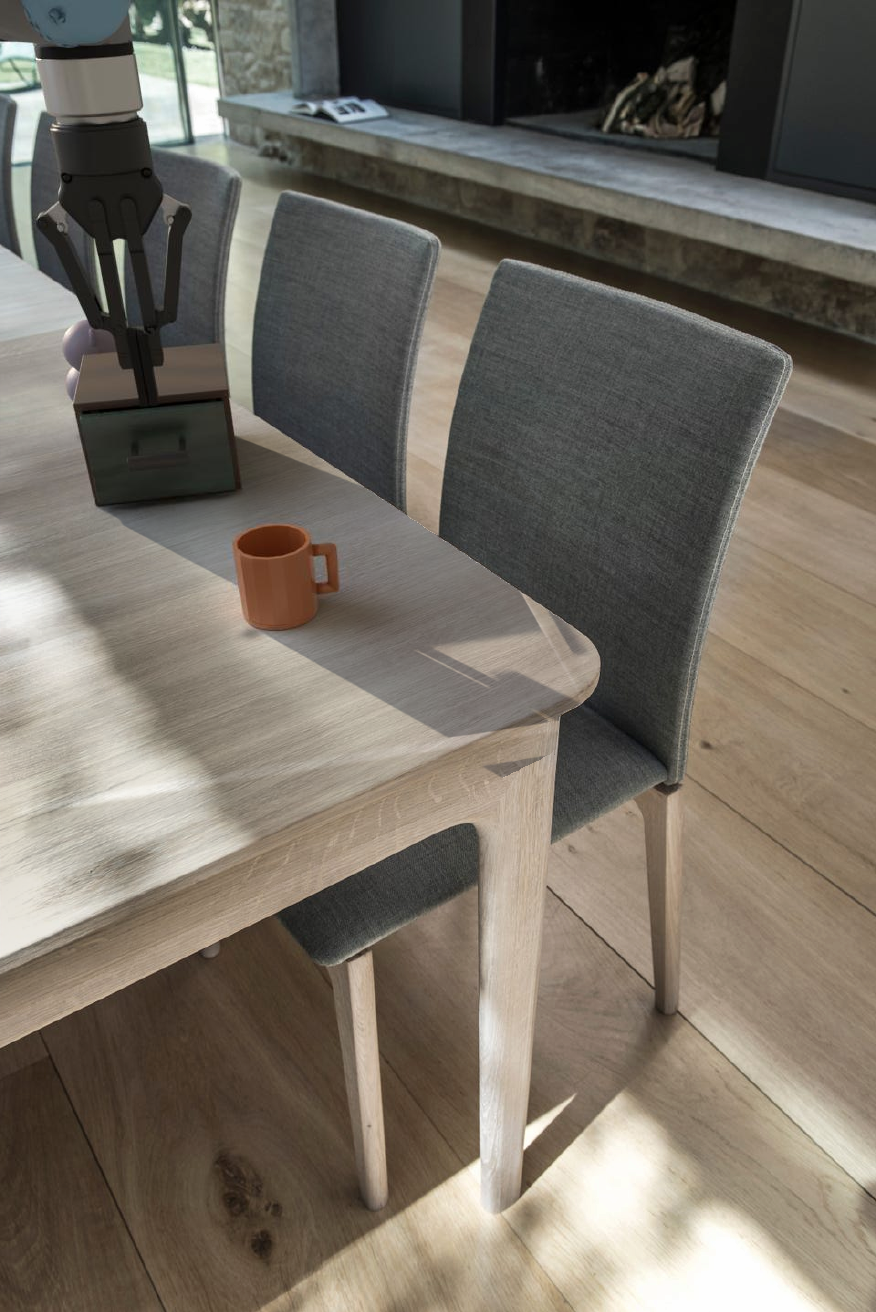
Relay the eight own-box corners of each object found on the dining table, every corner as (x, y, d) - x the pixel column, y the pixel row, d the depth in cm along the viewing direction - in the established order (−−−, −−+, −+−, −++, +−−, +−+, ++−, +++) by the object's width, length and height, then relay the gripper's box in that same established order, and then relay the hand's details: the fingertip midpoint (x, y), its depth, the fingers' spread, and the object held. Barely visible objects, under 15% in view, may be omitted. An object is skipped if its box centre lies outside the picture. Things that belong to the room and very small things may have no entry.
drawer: (238, 508, 102) (226, 422, 97) (96, 525, 100) (76, 437, 95) (228, 436, 117) (217, 359, 113) (105, 449, 115) (89, 370, 110)
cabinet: (242, 490, 108) (228, 389, 102) (95, 506, 105) (72, 404, 99) (233, 434, 120) (221, 342, 114) (103, 448, 118) (83, 354, 112)
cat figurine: (79, 412, 128) (56, 312, 121) (145, 407, 129) (126, 307, 122) (70, 438, 121) (46, 333, 114) (140, 432, 122) (120, 328, 115)
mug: (245, 635, 84) (234, 563, 81) (240, 597, 89) (230, 528, 86) (346, 621, 86) (340, 550, 82) (336, 585, 91) (330, 516, 87)
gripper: (180, 107, 88) (219, 381, 101) (17, 116, 86) (78, 394, 99) (181, 118, 82) (223, 408, 95) (5, 127, 80) (73, 422, 93)
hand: (149, 401), depth 97 cm, fingers closed
